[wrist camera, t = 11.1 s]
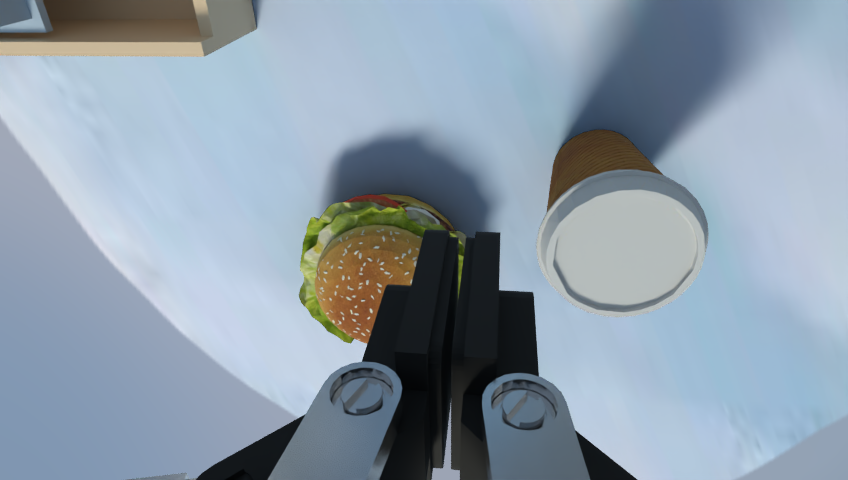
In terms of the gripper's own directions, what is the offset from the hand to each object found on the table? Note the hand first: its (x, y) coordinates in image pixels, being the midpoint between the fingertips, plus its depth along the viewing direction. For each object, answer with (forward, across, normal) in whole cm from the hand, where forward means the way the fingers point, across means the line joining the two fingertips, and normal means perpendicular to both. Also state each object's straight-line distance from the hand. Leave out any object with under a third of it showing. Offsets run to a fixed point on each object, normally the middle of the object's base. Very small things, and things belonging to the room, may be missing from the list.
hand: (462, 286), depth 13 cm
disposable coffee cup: (+29, -8, +10) cm, 32 cm away
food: (+29, +8, +18) cm, 35 cm away
